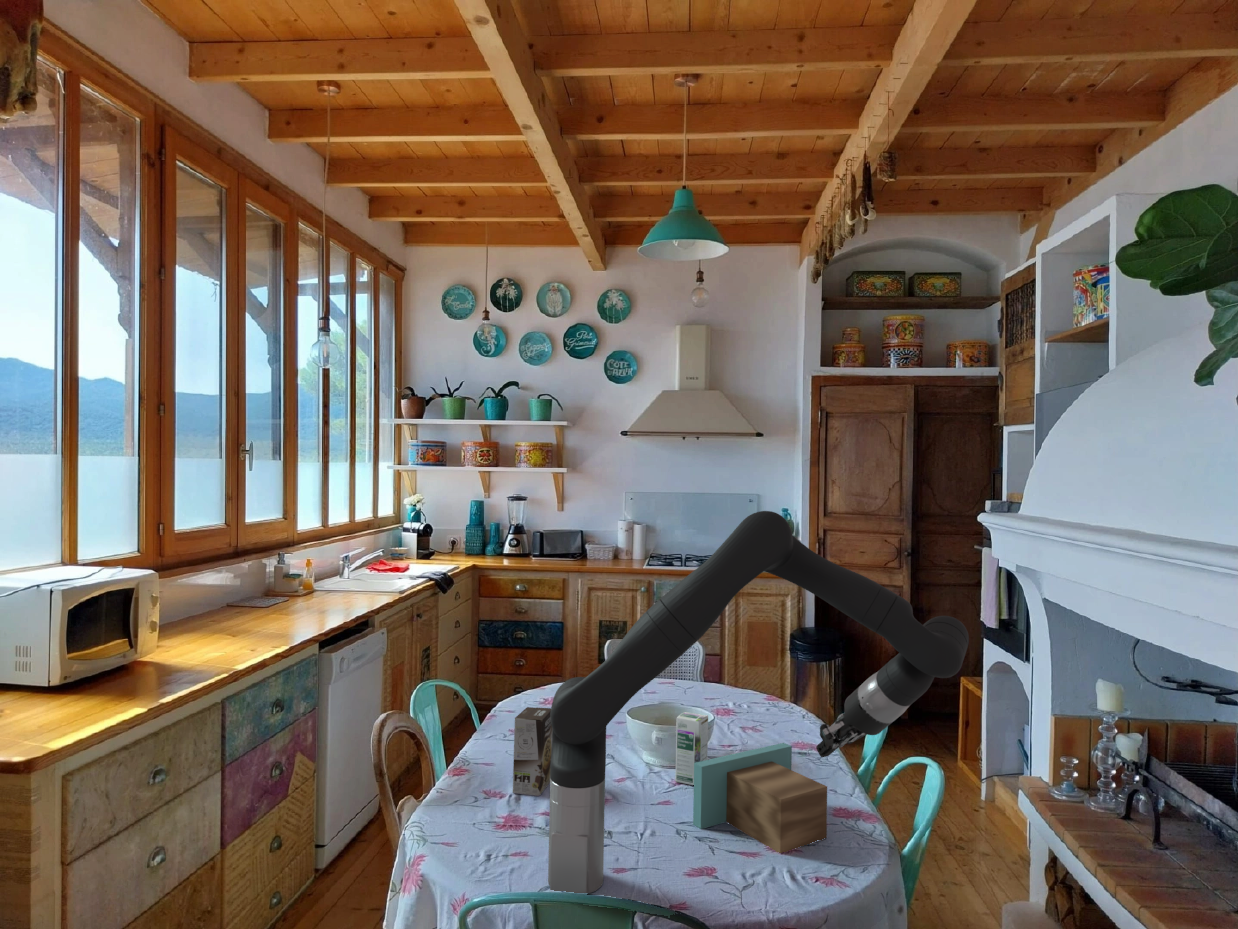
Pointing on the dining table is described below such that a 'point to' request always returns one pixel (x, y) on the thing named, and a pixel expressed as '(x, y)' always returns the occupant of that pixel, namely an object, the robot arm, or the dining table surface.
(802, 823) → the walnut block
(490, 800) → the dining table surface
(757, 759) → the teal board
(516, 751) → the coffee box
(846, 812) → the dining table surface
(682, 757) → the syrup box
